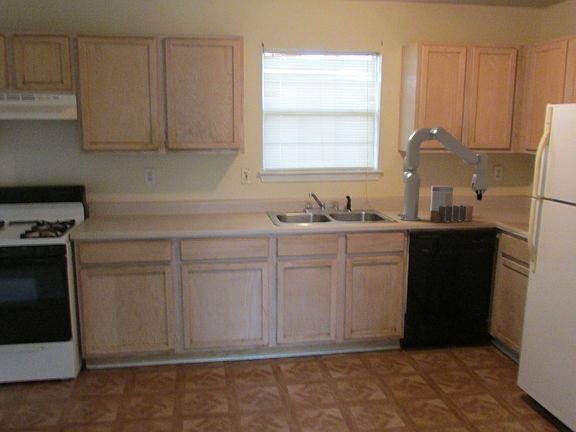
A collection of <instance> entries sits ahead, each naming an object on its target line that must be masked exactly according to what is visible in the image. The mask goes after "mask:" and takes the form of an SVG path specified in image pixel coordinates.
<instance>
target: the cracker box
mask: <svg viewBox="0 0 576 432" xmlns="http://www.w3.org/2000/svg"><path fill="white" fill-rule="evenodd" d="M430 190H431V191H430V207H429V208H430V209H429V210H430V212H429V214H430V216H431V210H435V211H438V212H439V206H444V207H446V206H451V207H453V198H454V196H453V195H454V186H453V185H440V184H439V185H436V184H435V185H431V189H430ZM445 217H446V209H445Z"/></svg>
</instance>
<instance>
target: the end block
mask: <svg viewBox="0 0 576 432" xmlns="http://www.w3.org/2000/svg"><path fill="white" fill-rule="evenodd" d="M439 215H440V212H438V211H435V210H431V215H430V217H429V218H430V220H429V221H430V222H431V223H434V224H439V223H440V221H439Z"/></svg>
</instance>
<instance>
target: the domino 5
mask: <svg viewBox="0 0 576 432" xmlns="http://www.w3.org/2000/svg"><path fill="white" fill-rule="evenodd" d="M473 213H474V206H473V205H469V204H466V219H465V221H467V220H468V221H467V222H473Z"/></svg>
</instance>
